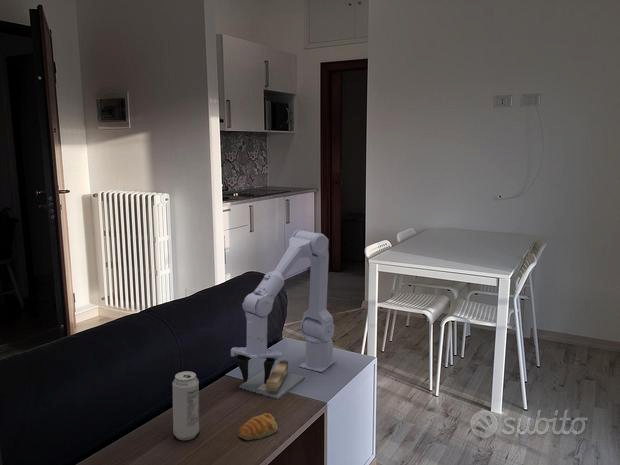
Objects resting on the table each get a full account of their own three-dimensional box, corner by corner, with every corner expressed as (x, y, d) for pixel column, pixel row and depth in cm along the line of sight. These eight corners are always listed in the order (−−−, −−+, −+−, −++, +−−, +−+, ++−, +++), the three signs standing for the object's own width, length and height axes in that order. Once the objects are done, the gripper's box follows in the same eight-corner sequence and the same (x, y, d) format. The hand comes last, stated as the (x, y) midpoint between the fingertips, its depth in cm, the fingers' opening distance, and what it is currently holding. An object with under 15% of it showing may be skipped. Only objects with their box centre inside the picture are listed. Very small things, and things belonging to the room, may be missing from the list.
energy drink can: (184, 425, 130) (183, 368, 128) (204, 431, 128) (203, 373, 125) (168, 437, 125) (166, 377, 123) (188, 444, 122) (187, 383, 120)
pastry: (248, 446, 123) (248, 431, 122) (232, 434, 127) (232, 419, 127) (279, 432, 129) (280, 418, 128) (263, 421, 134) (263, 407, 133)
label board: (268, 369, 164) (268, 366, 164) (304, 379, 158) (304, 376, 158) (239, 388, 151) (239, 385, 151) (278, 399, 145) (278, 396, 145)
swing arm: (279, 370, 161) (279, 359, 161) (289, 371, 161) (289, 360, 160) (266, 393, 146) (266, 381, 146) (276, 394, 146) (276, 382, 145)
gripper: (227, 338, 145) (227, 385, 147) (278, 343, 143) (277, 390, 145) (235, 330, 152) (235, 374, 154) (284, 334, 150) (283, 379, 152)
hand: (256, 381), depth 150 cm, fingers open, 5 cm apart
